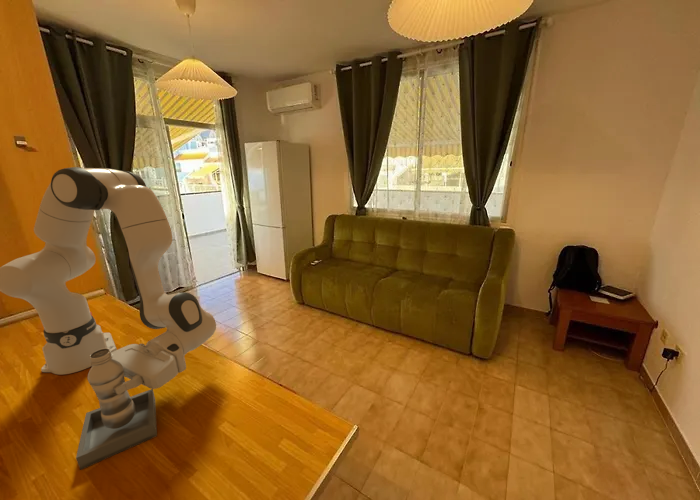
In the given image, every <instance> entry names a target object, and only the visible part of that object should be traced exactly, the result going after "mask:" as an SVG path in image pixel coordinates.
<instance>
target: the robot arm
mask: <svg viewBox="0 0 700 500" xmlns="http://www.w3.org/2000/svg"><path fill="white" fill-rule="evenodd" d="M99 210H109V211H111V212H112V213H113V214H114V215H115V217H117V221H118V225H119V226H120V229H121V232H122V234H123V237H124V240H125V243H126V247H127V250H128V256H129V262H130V264H129V265H130V269H131V271H132V275H133V279H134V282H135V286H136V289H137V293H138V297H139V317H140V321H141V322H142V324H143V325H144V326H146V327H147V328H149V329H152V330H160V329H164V328H166V331H165V332H163V333H161V334H159V335H158V336H156V337H153V338H152V339H150V340H148V341H147V343H146V344H144V343H139V344H138V343H131V344H127V345H126V346H122V347H120V348H118V349H117V347H116V344H115V341H114V339H113V336H112V333H110V332H103V331H102V328H101V325H99V324H97V322H96V319H95V317H94V316H93V314H92V313H93V312H92V311H90V307H89V304H88V301H87V297H86V296H85V295H83V294H81V293H78V292H72V291H70V290H69V289H68V287H67V285H66V283H67V282H69V281H71V280H73V279H75V278H77V277H79V276H81V275H83V274H85V273H86V272H87V271H89V270H90V269H92V267H93V266H94V265H96V259H97V258H96V255H95V253H94V251H93V250H92V249H91V248H90V247H89V246H87V245H88V244H87V238H88V234H89V231H90V227H91V224H92V221H93V218H94V214H95V211H99ZM35 219H36V220H35V223H34V226H33V232H34V234H35V236H36V237H37V238H38V239H40V240H41V241H42V242H44V243H45V244H44V247H43V248H42V249H41V250H40V251H37V252H34V253H31V254H27V255H23V256H22V257H18V258H15V259H13V260H11V261H9V262H6V263H5V264H4V265H2V266H0V292H1V293H2V294H4V295H6V296H8V297H12V298H16V299H21V300H24V301H25V302H28V303H29V304H30V305H31V306H32V307H33V308H34V309H35V311H36V312H37V315H38V316H39V319H40V321H41V324H42V327H43V330H42V331H43V336H44V338H45V341H46V343H45V345H43V346H42V348H41V349H42V352H43V356H44V357H43V358H44V360H45V364H44V365H43V366H42V367H41V369H40V371H41V372H42V373H52V374H54V375H69V374H73V373H74V374H75V373H77V372H81V371H83V370H86V369H89V368H90V367H92V366H93V365H91V363H90V355H91V354H92V353H93V352H95V351H97V350H100V349H106V348H107V349H110V351H111V354H112V356H113V357H112V359H115V360H117V361H119V362H120V363H121V364H122V365H123V369H124V378H127V379H129V380H125V382H124V383H122V382H120V383H119V384H117V385H115V386H114V387H113V390H114V392H115V393H116V394H121V393H123V392H124V391H126V390H127V391H128V390H131V389H134V388H138V387H139V386H141V385H142V386H144V387H147V388H149V389H150V390H151V389H153V390H156V389H159V388H161V387H164V385H165V384H168V383H169V382H170V381H171V380H173V379H174V378H175V377H176V376H178V375H179V373H182V372H184V371H185V370H186V369H187V364H186V358H185V355H186V354H188V353H189V352H191V351H194V350H195V349H197V348H199V347H200V346H202V345H203V344H204V343H206V342H207V341H209V339H210V338H211V337H212V336H214V334H215V332H216V330H217V323H216V322H217V321H216V319H215V317H214V315H212V314H211V313H210V312H207V311H205V310H204V309H203V307H202V306H201V305H200V303H199V299H197V297H196V296H195V295H194V294H193V293H191V292H185V291H184V292H176V293H171V294H167V293H166V291H165V290H164V287H163V283H162V279H161V275H160V272H159V262H160V261H161V259H162V257H163V255H164V254H165V253H166V252H167V251H168V250H169V249H170V247H171V245H172V243H173V233H172V228H171V225H170V222H169V219H168V217H167V214H166V213H165V211H164V209H163V206H162V203H161V202H160V200H159V198H158V197H157V196H156V194H155V192H154V191H153V190H152V189H151V188H149V187H147V184H146V183H145V181H144V180H143V178H142V177H141V176H139V175H138V174H136V173H133V172H131V171H127V170H118V169H113V168H106V167H99V168H97V167H95V168H94V167H77V166H75V167H66V168H61V169H58V170H56V171H55V172H54V174H53V175H52V177H51V179H50V183H49V185H48V186H47V188H46V189H45V192H44V194H43V196H42V199H41V202H40V204H39V208H38V211H37V216H36V218H35Z"/></svg>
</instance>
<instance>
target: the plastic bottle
mask: <svg viewBox="0 0 700 500" xmlns="http://www.w3.org/2000/svg"><path fill="white" fill-rule="evenodd" d="M112 357H113V356H112V354H111V351H110V349H107V348H106V349H100V350H97V351H95V352H93V353H92V354H91V355H90V363H91V365H93V366H91V368H90V369H89V371H88V374H87V381H88V384H89V385H90V387H91V388H92V390H93V391H94V393H95V395H96V398H97V399H98V402H99V408H101V418H102V422H103V424H104V425H105V427H107V428H110V429H116V428H120V427H122V426H124V425H126V424H127V423H129V422H130V421H131V420H132V419H133V417H134V415H135V413H136V406H135V404H134V402H133V400H132V399H131V398H130V397H131V396H130V394H129V391H128V390H126V391H124V392H123V393H121V394H116V393H115V392H114V390H113V387H114V386H115V385H117V384H119V383H120V382H122V383H124V382H126V379H125V377H124V369H123V365H122V364H121V363H120V362H119V361H117V360H115V359H112Z"/></svg>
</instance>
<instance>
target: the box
mask: <svg viewBox="0 0 700 500" xmlns="http://www.w3.org/2000/svg"><path fill="white" fill-rule="evenodd" d="M130 398H131V399H132V400H133V402H134V404H135V406H136V413H135V415H134V417H133V419H132V420H131V421H130V422H129V423H127V424H126V425H124V426H122V427H120V428H116V429H110V428H107V427H105V425H104V424H103V422H102V418H101V408H100V407H98V408H96V409H93V410H91V411H87V412H86V413H85V417H84V421H83V426H82V431H81V435H80V439H79V443H78V448H77V451H76V452H77V453H76V457H75V459H76V462H77V465H78V467H79V470H83V469H86V468H89V467H91V466H93V465H95V464H97V463H99V462H102V461H104V460H106V459H108V458H111V457H113V456H115V455H117V454H119V453H123V452H125V451H126V450H129V449H131V448H133V447H135V446H138V445H140V444H143V443H145V442H147V441H149V440H152V439H153V438H155V437H158V431H157V429H158V428H157V412H156V411H157V410H156V409H157V408H156V407H157V406H156V397H155V393H154V389H151V388H150V389H148V390H145V391H143V392H140V393H137V394H134V395H132V396H130Z"/></svg>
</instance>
